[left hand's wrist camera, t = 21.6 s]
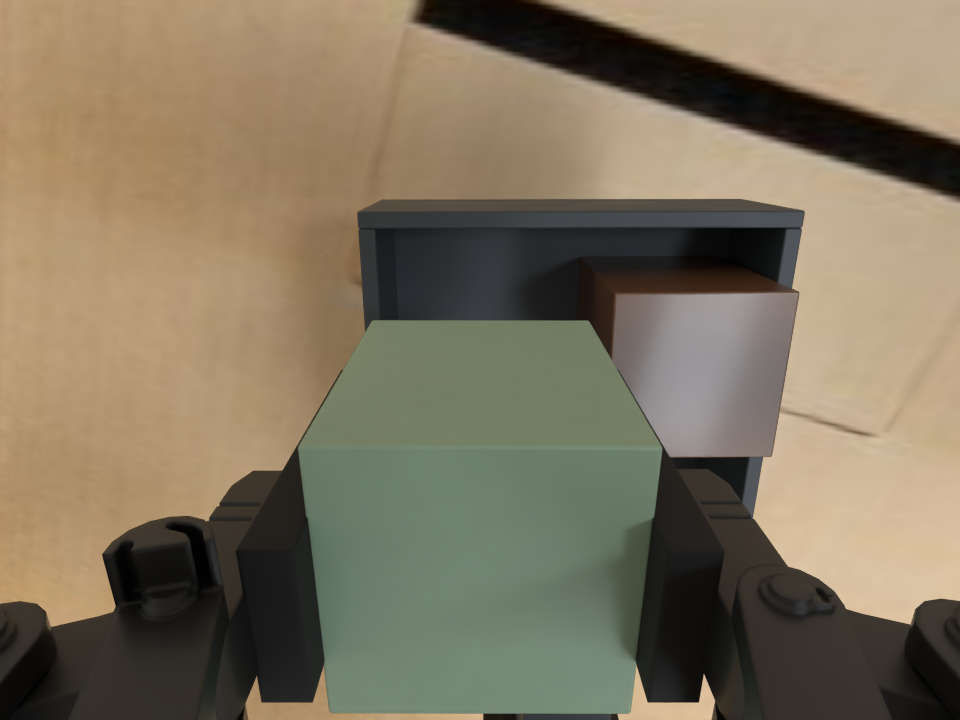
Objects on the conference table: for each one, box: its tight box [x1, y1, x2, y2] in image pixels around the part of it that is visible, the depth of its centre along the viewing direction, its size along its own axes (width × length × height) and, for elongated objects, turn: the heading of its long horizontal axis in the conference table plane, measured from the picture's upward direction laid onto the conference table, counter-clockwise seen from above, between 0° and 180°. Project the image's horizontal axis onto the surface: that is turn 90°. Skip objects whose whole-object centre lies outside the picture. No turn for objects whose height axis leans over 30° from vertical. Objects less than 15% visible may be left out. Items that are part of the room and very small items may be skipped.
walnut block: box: [577, 255, 799, 458], centre depth 20 cm, size 5×5×6 cm
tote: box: [357, 199, 805, 720], centre depth 23 cm, size 26×13×7 cm, turn 0°
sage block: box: [298, 320, 662, 714], centre depth 12 cm, size 5×5×6 cm
